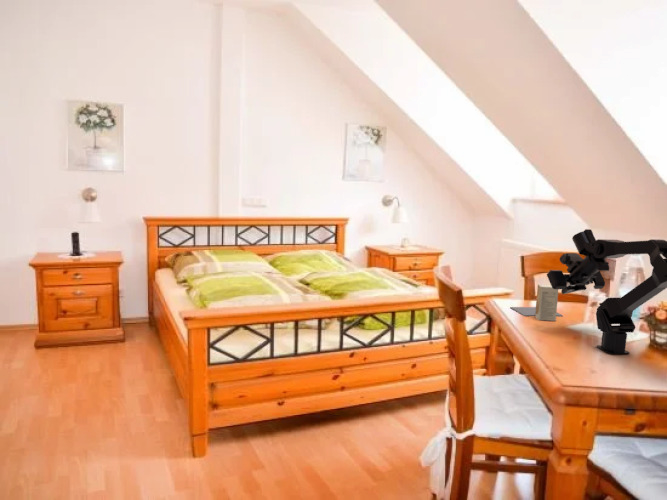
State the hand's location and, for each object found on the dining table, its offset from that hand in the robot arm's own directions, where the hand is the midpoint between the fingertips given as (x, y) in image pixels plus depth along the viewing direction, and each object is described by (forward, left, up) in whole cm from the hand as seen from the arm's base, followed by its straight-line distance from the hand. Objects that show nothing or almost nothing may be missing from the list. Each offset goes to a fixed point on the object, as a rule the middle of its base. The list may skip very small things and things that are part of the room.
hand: (562, 292), depth 180 cm
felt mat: (+17, -1, -11) cm, 20 cm away
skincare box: (+8, +1, -12) cm, 14 cm away
